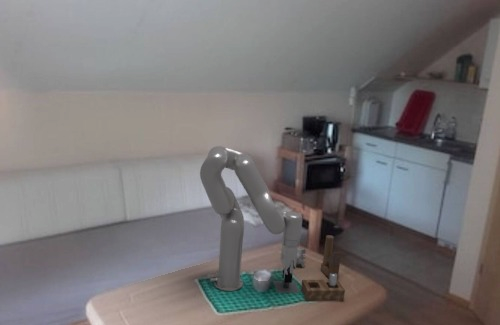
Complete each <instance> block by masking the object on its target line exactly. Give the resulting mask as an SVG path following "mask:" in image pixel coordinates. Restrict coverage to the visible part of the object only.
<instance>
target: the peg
mask: <svg viewBox="0 0 500 325" xmlns="http://www.w3.org/2000/svg"><path fill="white" fill-rule="evenodd" d="M283 270H284V269H283ZM288 270H290V269H288ZM285 274H286V269H285V270H284V278H282V279H283V280H282V281H283V287H284V288H289V287H290V283H285V282H284V279H285Z"/></svg>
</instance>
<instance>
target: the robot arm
mask: <svg viewBox="0 0 500 325" xmlns="http://www.w3.org/2000/svg"><path fill="white" fill-rule="evenodd" d="M204 159H205V160H204V161H203V162H202V164H201V166H200V170H199V176H200V177H199V178H200V180H201V184H202V186H203V188H204V190H205V191H204V192H205V193H206V195H207V197H208V200H209V202H210V205H211V207H212V209H213V211H214V212H215V213H216V214H218V215H219V217H220V219H221V224H220V235H219V236H220V240H219V255H218V256H219V257H218V270H217V271H216V273H214V274H208V273H207V275H206V279H207V280H210V282H213V285H214V287H215V288H217V289H219V290H221V291H223V292H224V291H225V292H235V291H238V290H240V289H242V288H243V286H244V281H243V279H242V278H241V269H242V268H241V267H242V265H241V264H242V254H243V245H244V244H243V242H244V233H245V220H244V214H243V211H242V209H241V206H240V205H239V202H238V200H237V198H236V195H235V193H234V191H233V190H232V189H231V188H230V187H228V186H226V182H225V181H224V179H223V176H222V172H223V170H225V169H228V170H230V171H231V170H232V171H234V173H235V175H236V177H237V179H238V180H239V182H240V183H241V184H240V185H242V187H243V189H244V190H245V192H246V193H247V195H248V197H249V199H250V201H251V204H252V205H253V206H254V209H255V210H256V212H257V214H258V216H259V217H260V219H261V221H262V223H263V225H264V226H265V228H266V230H267V231H268V232H269V233H271V234H272V235H280V234H282V238H281V240H282V241H281V252H280V257H279V258H280V263H281V264H282V267H283V269H282V276H281V277H282V279H284V270H285V269H286V274H285V279H284V282H285V283H291V282H292V281H293V274H294V270H295V269H296V268H297V264H296V263H297V248H300V244H301V235H302V228H303V227H302V225H303V215H302V214H301V213H300V212H296V211H285V210H280V209H277V207H276V205H275V203H274V201H273V198H272V194H271V191H270V190H269V188H268V186H267V184H266V183H265V181H264V178H263V177H262V175H261V174H260V172H259V170H258V168H257V167H256V165H255V161H254V159H253V157H252V156H250V155H249V154H247V153H245V152H241V151H237V150H235V149H231V148H228V147H225V146H222V145H217V146H214V147H212V148H210V150H209V151H208V155H207V157H206V158H204ZM288 269H290V270H288Z"/></svg>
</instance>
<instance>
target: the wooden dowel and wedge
mask: <svg viewBox="0 0 500 325" xmlns="http://www.w3.org/2000/svg"><path fill="white" fill-rule="evenodd" d="M334 238H335V237H334V236H333V235H329V234H327V235H326V236H325V243H324V249H323V250H324V251H323V258H322V259H323V260H322V263H321V264H320V271H321V272H322V273H323V274H324V275H325V276H326V277H327V279H329V278H330V273H336V274H337V280H338V281H339V273H340V271H339V270H340V263H341V257H342V251H334V252H333V248H334Z"/></svg>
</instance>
